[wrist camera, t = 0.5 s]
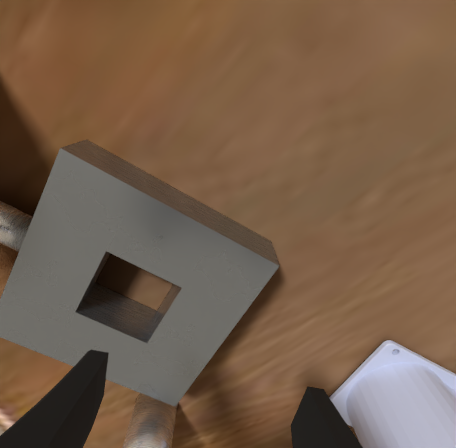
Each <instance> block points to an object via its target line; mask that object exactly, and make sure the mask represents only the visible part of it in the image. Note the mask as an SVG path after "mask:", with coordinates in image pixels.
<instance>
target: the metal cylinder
mask: <svg viewBox="0 0 456 448" xmlns="http://www.w3.org/2000/svg"><path fill="white" fill-rule="evenodd" d="M177 405H178V403H177ZM177 405H176V406H172V405H170V404H167V403H165V402H162V401H160V400H157V399H155V398H152V397H150V396H147V395H145V394H142V393H140V394H139V395H138V397H137V399H136V402H135V406H134V409H133V413H132V416H131V420H130V423H129V427H128V430H127V434H126V437H125V441H124V444H123V448H171V446H172V439H173V432H174V426H175V419H176V412H177Z"/></svg>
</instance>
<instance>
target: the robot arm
mask: <svg viewBox="0 0 456 448" xmlns="http://www.w3.org/2000/svg"><path fill="white" fill-rule="evenodd" d="M395 349H396V350H395ZM393 350H394V351H393ZM108 355H109V353H108V352H102V351H96V350H89V351H88V352H87V353H86V354H85V355H84V356H83V357H82V358H81V360H80V361H79V362H78V363H77V364H76V365H75V366H74V367H73V368H72V369H71V370H70V371H69V373H68V374H67V375H66V376H65V377H64V378H63V379H62V380H61V381H60V382H59V383H58V384H57V385H56V386H55V387H54V388H53V389H52V390H51V391H50V392H48V393H47V394H46V395H45V396H44V397H43V398H42V399H41V400H40V401H39V402H38V403H37V404H36V405H35V406H34V407H33V408H31V409H30V410H29V411H28V412H27V413H26V414H25V415H24V416H22V417H21V418H20V419H19V420H18V421H17V422H16V423H15V424H13V425H12V426H11V427H10V428H9V429H8V430H7V431H5V432H4V433H3V434H2V435H1V436H0V448H83V446H84V444H85V442H86V440H87V437H88V435H89V433H90V431H91V429H92V426H93V424H94V421H95V418H96V415H97V413H98V410H99V407H100V404H101V401H102V398H103V396H104V388H105V380H106V371H107V363H108ZM348 425H349V426H352V427H353V428H354V430H355V433H356V435H357V438H358V440H359V441H358V440H357V438H356V437H355V435H354V434H353V433H352V431H351V430H350V428H349V427H348ZM291 432H292V443H293V448H456V374H455V373H453V372H451V371H449V370H447V369H445V368H443V367H441V366H439V365H437V364H436V363H434V362H432V361H430V360H428V359H426V358H424V357H422V356H420V355H418V354H416V353H415V352H413V351H411V350H409V349H407V348H405V347H403V346H401V345H399V344H397V343H396V342H394V341H391V340H387V341H384V342H383V343H382V344H381V345H380V346H379V347H378V348H377V349H376V350H375V351H374V352H373V353H372V354H371V355H370V356H369V357H368V358H367V359H366V360H365V361H364V362H363V363H362V364H361V365H360V367H359V368H358V369H357V370H356V371H355V372H354V373H353V374H352V375H351V376H350V377H349V378H348V379H347V380H346V381H345V382H344V383H343V384H342V385H341V386H340V387H339V388H338V389H337V390H336V391H335V392H334V393H333V394H332V395H331V396H330V397H328V395H327V394H326V392H325V391H324V389H319V388H313V387H307V389H306V392H305V394H304V396H303V399H302V401H301V403H300V405H299V408H298V410H297V412H296V415H295V417H294V419H293V422H292V424H291Z"/></svg>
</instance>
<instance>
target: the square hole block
mask: <svg viewBox="0 0 456 448" xmlns="http://www.w3.org/2000/svg"><path fill="white" fill-rule="evenodd" d="M0 243H1V244H3V245H5V246H7V247H9V248H11V249H14V250H16V251H18V252H19V253H18V256H17V259H16V261H15V264H14V266H13V269H12V271H11V274H10V276H9V279H8V281H7V284H6V286H5V289H4V291H3V294H2V296H1V299H0V337H1V338H4V339H6V340H9V341H11V342H14V343H16V344H19V345H21V346H24V347H26V348H29V349H31V350H34V351H36V352H39V353H41V354H44V355H46V356H49V357H51V358H54V359H56V360H59V361H62V362H64V363H67V364H69V365H72V366H75V365H76V364H77V363H78V362H79V361H80V360H81V358H82V357H83V356H84V355H85V354H86V353H87V352H88V351H89V350H96V351H102V352H108V353H109V355H108V363H107V371H106V379H107V380H109V381H112V382H114V383H117V384H119V385H122V386H124V387H127V388H129V389H132V390H134V391H137V392H140V393H142V394H145V395H147V396H150V397H152V398H155V399H157V400H160V401H162V402H165V403H167V404H170V405H172V406H176V405H177V403H178V402H179V401H180V399H181V398H182V397H183V395H184V394H185V393H186V391H187V390H188V389H189V387H190V386H191V385H192V383H193V382H194V381H195V379H196V378H197V376H198V375H199V374H200V372H201V371H202V370H203V368H204V367H205V366H206V364H207V363H208V362H209V360H210V359H211V358H212V356H213V355H214V354H215V352H216V351H217V350H218V348H219V347H220V346H221V344H222V343H223V341H224V340H225V339H226V337H227V336H228V335H229V333H230V332H231V331H232V329H233V328H234V327H235V325H236V324H237V323H238V321H239V320H240V319H241V317H242V316H243V315H244V313H245V312H246V310H247V309H248V308H249V306H250V305H251V304H252V302H253V301H254V300H255V298H256V297H257V296H258V294H259V293H260V292H261V290H262V289H263V288H264V286H265V285H266V284H267V282H268V281H269V280H270V278H271V277H272V275H273V274H274V273H275V271H276V270H277V269H278V267H279V263H278V260H277V257H276V254H275V251H274V248H273V245H272V242H271V241H269V240H267V239H266V238H264V237H262V236H260V235H258V234H257V233H255V232H253V231H251V230H249V229H247V228H246V227H244V226H242V225H240V224H238V223H237V222H235V221H233V220H231V219H229V218H228V217H226V216H224V215H222V214H220V213H219V212H217V211H215V210H213V209H211V208H209V207H208V206H206V205H204V204H202V203H200V202H199V201H197V200H195V199H193V198H191V197H190V196H188V195H186V194H184V193H182V192H181V191H179V190H177V189H175V188H173V187H171V186H170V185H168V184H166V183H164V182H162V181H161V180H159V179H157V178H155V177H153V176H152V175H150V174H148V173H146V172H144V171H143V170H141V169H139V168H137V167H135V166H133V165H132V164H130V163H128V162H126V161H124V160H123V159H121V158H119V157H117V156H115V155H114V154H112V153H110V152H108V151H106V150H105V149H103V148H101V147H99V146H97V145H95V144H94V143H92V142H90V141H88V140H84V141H81V142H78V143H75V144H71V145H68V146H65V147H62V148H60V150H59V153H58V155H57V158H56V160H55V163H54V165H53V168H52V170H51V173H50V175H49V178H48V180H47V183H46V185H45V188H44V190H43V193H42V195H41V198H40V200H39V203H38V206H37V208H36V211H35V213H34V216H31V215H29V214H26V213H24V212H22V211H20V210H18V209H16V208H14V207H12V206H10V205H8V204H6V203H4V202H2V201H0ZM110 253H111V254H113V255H115V256H117V257H119V258H121V259H123V260H125V261H127V262H129V263H132V264H134V265H136V266H138V267H140V268H142V269H144V270H146V271H148V272H150V273H152V274H154V275H156V276H158V277H160V278H163V279H165V280H167V281H169V282H171V283H173V286H172V288H171V289H170V291H169V293H168V294H167V296H166V297H165V299H164V301H163V302H162V304H161V305H160V307H159V309H158V310H157V311H155V310H153V309H151V308H149V307H147V306H145V305H142V304H140V303H138V302H136V301H134V300H131V299H129V298H127V297H125V296H123V295H121V294H118V293H116V292H114V291H112V290H110V289H107V288H105V287H103V286H101V285H99V284H97V283H95V282H96V280H97V278H98V276H99V275H100V273H101V271H102V269H103V267H104V265H105V263H106V261H107V259H108V257H109V255H110Z"/></svg>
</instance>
